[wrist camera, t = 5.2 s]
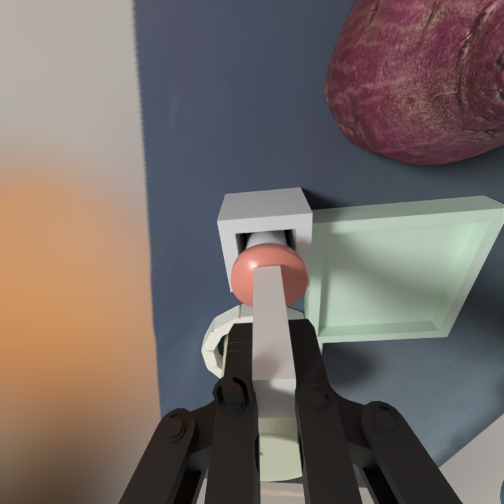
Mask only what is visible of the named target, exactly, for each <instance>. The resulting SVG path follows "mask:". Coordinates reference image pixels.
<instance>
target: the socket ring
mask: <svg viewBox="0 0 504 504" xmlns="http://www.w3.org/2000/svg"><path fill="white" fill-rule="evenodd" d="M286 311H287V318H288V320H292V319H305V315H304V314H303V312H300V311H297V310H295V309H292V308H289V307H286ZM250 322H253V308H252V307H250V306H248V305H246V304H241V306H240V305H238V306H236V307H234V308H232V309H230V310H228V311H226V312H225V313H223V314H221V315H219V316H217V317H215V319H213V321H212V323H211V325H210V327H209V329H208V331H207V332H206V334H205V336H204V340H203V345H202V350H201V351H202V354H203V357H204V360H205V363H206V366H207V368H208V370H210V371H211V372H212V373H214V374H215V375H216V376H218V377H219V378H221V373H222V365H223V356H222V355H221V354H219V350H218V346H217V344H218V342H219V341H220V339H221V337H222V336H224V335H226V334H228V333H229V331H230V329H231V327H232V326H233V324H234V323H250ZM322 346H323V345H322V343H319V348H320V351H321V355H322Z"/></svg>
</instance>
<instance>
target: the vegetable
mask: <svg viewBox="0 0 504 504" xmlns="http://www.w3.org/2000/svg"><path fill="white" fill-rule="evenodd" d="M324 91H325V93H326V94H327V97H328V98H327V101H328V105H329V108H330V110H331V112H332V114H333V116H334V118H335V120H336V122H337V124H338V126H339V127H340V129H341V131H342V133H343V134H344V136H345V137H346V138H347V139H348V140H349V141H350V142H351V143H352V144H353V145H355V146H357V147H360V148H362V149H364V150H365V151H368V152H370V153H375V154H379V155H382V156H384V157H387V158H389V159H392V160H394V161H397V162H401V163H405V164H409V165H419V166H432V165H443V164H448V163H453V162H457V161H461V160H464V159H468V158H471V157H474V156H477V155H480V154H483V153H485V152H488V151H490V150H492V149H495V148H497V147H500V146H502V145H504V0H356V1H355V3H354V5H353V7H352V9H351V11H350V13H349V15H348V17H347V19H346V22H345V24H344V26H343V29H342V31H341V34H340V36H339V39H338V41H337V44H336V47H335V49H334V52H333V54H332V57H331V60H330V62H329V67H328V74H327V80H326V84H325V88H324Z"/></svg>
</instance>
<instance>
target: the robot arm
mask: <svg viewBox="0 0 504 504" xmlns="http://www.w3.org/2000/svg"><path fill="white" fill-rule="evenodd" d="M226 351H227V353H226V359H225V368H224V376H223V377H222V378H220V379H219V380H218V382H217V383H216V384H215V386H214V389H213V392H212V393H213V396H214V399H215V400H213V401H212V402H211V403H210V404H208V405H206V406H204V407H201V408H199V409H196V410H194V411H191V412H190V411H188V410H186V409H185V408H177V409H175V410H172V411H170V412H169V413H168V414H166V415H165V416H164V417H163V418H162V420H161V421H160V423H159V424H158V426H157V428H156V430H155V432H154V434H153V436H152V438H151V440H150V442H149V444H148V446H147V448H146V450H145V452H144V454H143V456H142V458H141V460H140V462H139V464H138V466H137V468H136V470H135V472H134V474H133V476H132V478H131V480H130V482H129V484H128V486H127V488H126V490H125V492H124V494H123V496H122V498H121V500H120V502H119V504H196V502H197V499H198V496H199V492H200V489H201V486H202V483H203V480H204V477H205V474H206V471H207V468H209V470H208V478H207V487H206V494H205V503H204V504H260V436H259V426H258V418H285V417H296V422H297V444H298V445H299V454H300V462H301V471H302V479H303V488H304V496H305V504H362V500H361V496H360V492H359V488H358V484H357V480H356V476H355V472H354V469H353V465H352V464H355V465H357V467H358V469H359V471H360V474H361V476H362V478H363V480H364V482H365V484H366V486H367V489H368V491H369V493H370V495H371V497H372V499H373V501H374V504H463V503H462V502H461V501H460V499H459V498H458V496H457V495H456V493H455V492H454V490H453V489H452V487H451V486H450V485H449V483H448V482H447V480H446V479H445V477H444V476H443V474H442V473H441V471H440V470H439V469H438V467H437V466H436V464H435V463H434V461H433V460H432V458H431V457H430V455H429V454H428V452H427V451H426V450H425V448H424V447H423V445H422V444H421V442H420V441H419V439H418V438H417V436H416V435H415V434H414V432H413V431H412V429H411V428H410V426H409V425H408V423H407V422H406V420H405V419H404V417H403V416H402V415H401V414H400V413H399V412H398V411H397V410H396V409H395V408H394V407H392V406H391V405H389V404H388V403H384V402H381V401H371V402H370V403H368V404H366V405H363V404H359V403H356V402H353V401H350V400H347V399H345V398H343V397H341V396H340V395H338V394H337V393H336V392H335V391H334V390H333V389H332V387H331V386H330V384H329V382H328V379H327V375H326V371H325V367H324V363H323V359H322V355H321V351H320V348H319V343H318V339H317V335H316V331H315V327H314V326H313V325H312V323H311V322H310V321H309V319H292V320H288V318H287V311H286V304H285V297H284V290H283V282H282V275H281V268H280V265H278V266H264V267H254V280H253V322H250V323H234V324H233V326H232V327H231V329H230V331H229V333H228V342H227V350H226ZM500 498H501V504H504V481H503V484H502V487H501V493H500Z"/></svg>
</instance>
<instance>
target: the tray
mask: <svg viewBox="0 0 504 504" xmlns="http://www.w3.org/2000/svg"><path fill="white" fill-rule="evenodd" d="M311 211H312V213H313V215H312V242H311V269H310V287H307V288H306V290H305V294H304V315H305V319H309V321H310V322H311V323H312V325H313V326H314V327H315V331H316V335H317V339H318V343H331V342H352V341H372V340H393V339H414V338H434V337H447V336H448V334H449V332H450V330H451V328H452V326H453V324H454V322H455V320H456V318H457V316H458V314H459V312H460V310H461V308H462V306H463V304H464V302H465V300H466V298H467V296H468V294H469V292H470V290H471V288H472V286H473V284H474V282H475V280H476V278H477V276H478V274H479V272H480V270H481V268H482V266H483V264H484V262H485V260H486V258H487V256H488V254H489V252H490V250H491V248H492V246H493V244H494V242H495V240H496V238H497V236H498V234H499V232H500V230H501V228H502V226H503V224H504V204H502V203H500V202H498V201H495V200H493V199H491V198H489V197H486V196H472V197H460V198H448V199H436V200H424V201H412V202H400V203H388V204H376V205H364V206H352V207H340V208H329V209H317V210H311Z"/></svg>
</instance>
